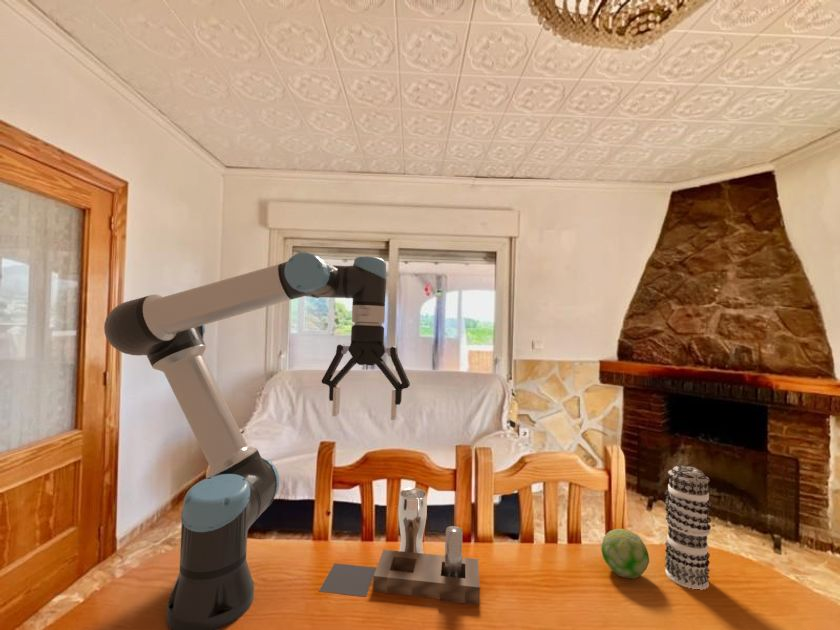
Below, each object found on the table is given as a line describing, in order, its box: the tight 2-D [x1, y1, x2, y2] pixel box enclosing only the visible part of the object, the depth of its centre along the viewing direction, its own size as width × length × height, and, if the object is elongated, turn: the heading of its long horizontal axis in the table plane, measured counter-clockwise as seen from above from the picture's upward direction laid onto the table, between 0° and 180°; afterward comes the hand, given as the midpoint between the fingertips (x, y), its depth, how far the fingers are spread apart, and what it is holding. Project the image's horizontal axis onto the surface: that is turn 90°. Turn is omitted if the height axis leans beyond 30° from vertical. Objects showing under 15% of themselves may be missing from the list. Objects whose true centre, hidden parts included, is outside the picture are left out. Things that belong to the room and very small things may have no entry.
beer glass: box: [398, 487, 428, 554], centre depth 98 cm, size 7×7×15 cm
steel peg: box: [444, 525, 464, 578], centre depth 87 cm, size 4×4×12 cm
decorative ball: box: [600, 528, 650, 579], centre depth 94 cm, size 10×10×10 cm
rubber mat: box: [318, 562, 377, 598], centre depth 88 cm, size 10×10×1 cm
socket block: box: [372, 549, 481, 606], centre depth 88 cm, size 22×10×4 cm, turn 84°
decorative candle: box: [664, 465, 713, 591], centre depth 93 cm, size 9×9×25 cm
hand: (364, 417), depth 92 cm, fingers open, 13 cm apart
